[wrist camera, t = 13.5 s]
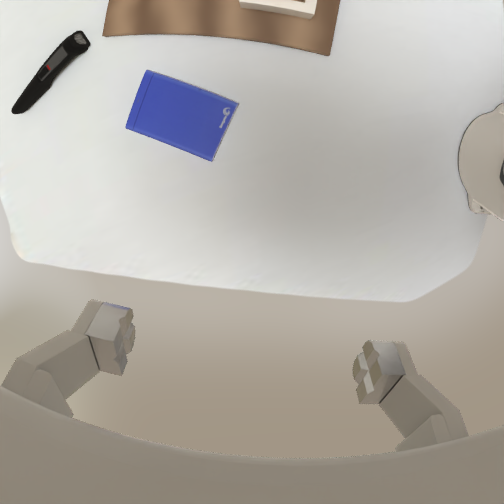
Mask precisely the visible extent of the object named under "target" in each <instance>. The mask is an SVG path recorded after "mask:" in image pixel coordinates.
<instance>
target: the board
mask: <svg viewBox="0 0 504 504" xmlns="http://www.w3.org/2000/svg"><path fill="white" fill-rule="evenodd" d="M297 1H299V2H303V0H297ZM339 4H340V0H317V4H316V9H315V14H314V16H313V17H312V18H311V19H305V18H301V17H296V16H291V15H286V14H281V13H275V12H269V11H262V10H255V9H248V8H241V7H240V3H239V0H109V3H108V8H107V13H106V18H105V23H104V29H103V35H102V36H105V37H109V36H122V35H144V34H178V35H201V36H214V37H225V38H234V39H243V40H250V41H257V42H264V43H270V44H275V45H281V46H286V47H291V48H296V49H301V50H305V51H309V52H314V53H318V54H322V55H326V56H329V55H330V51H331V46H332V41H333V36H334V31H335V25H336V20H337V15H338V9H339Z"/></svg>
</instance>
